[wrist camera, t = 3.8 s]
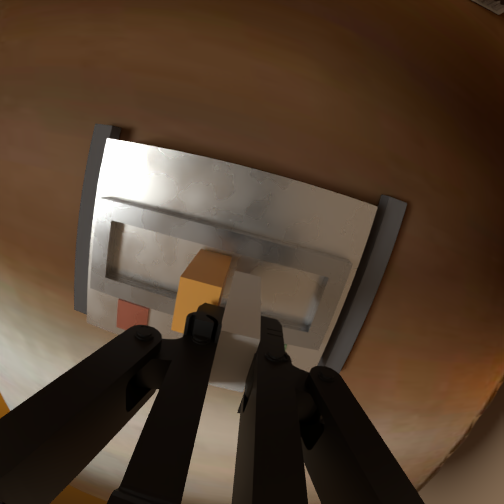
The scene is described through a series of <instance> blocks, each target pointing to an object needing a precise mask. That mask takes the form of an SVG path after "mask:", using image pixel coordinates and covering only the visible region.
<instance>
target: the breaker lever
mask: <svg viewBox="0 0 504 504" xmlns="http://www.w3.org/2000/svg"><path fill="white" fill-rule="evenodd" d="M231 259H232V257H230V256H226V255H223V254H219V253H215V252H211V251H208V250H204V249H200V251H199V252H198V253H197V255H196V256H195V257H194V259H193V260H192V261H191V263H190V264H189V265H188V267H187V268H186V269H185V271H184V272H183V274H182V275H181V276H180V281H179V286H178V292H177V297H176V303H175V309H174V315H173V321H172V327H171V330H173V331H176V332H180V333H183V334H184V328H185V322H186V317H187V315H188V314H189V313H192V312H197V309H198V307H199V306H200V305H202V304H204V303H209V304H213V305H216V306H220V303H221V299H222V295H223V291H224V287H225V283H226V279H227V275H228V271H229V267H230V263H231Z"/></svg>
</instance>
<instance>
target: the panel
mask: <svg viewBox="0 0 504 504" xmlns="http://www.w3.org/2000/svg"><path fill="white" fill-rule="evenodd" d="M377 208H378V207H377V206H374V205H372V204H369V203H366V202H363V201H360V200H357V199H354V198H351V197H348V196H345V195H342V194H339V193H336V192H333V191H330V190H327V189H323V188H320V187H317V186H314V185H310V184H307V183H304V182H300V181H297V180H293V179H290V178H286V177H283V176H279V175H276V174H272V173H268V172H265V171H261V170H257V169H253V168H249V167H245V166H242V165H238V164H233V163H229V162H225V161H221V160H217V159H212V158H208V157H204V156H199V155H195V154H190V153H185V152H181V151H176V150H171V149H166V148H160V147H155V146H150V145H144V144H139V143H133V142H127V141H121V140H114V139H108V138H107V142H106V146H105V151H104V155H103V160H102V165H101V171H100V176H99V182H98V188H97V194H96V200H95V207H94V215H93V223H92V232H91V242H90V253H89V267H88V287H87V323H89V324H92V325H94V326H97V327H99V328H102V329H104V330H107V331H110V332H113V333H115V334H118V335H120V334H121V333H123V332H124V331H125V330H127V329H128V328H130V327H132V326H134V325H148V326H151V327H154V328H155V329H157V330H158V331H159V332H160V333H161V335H162V338H163V339H178V338H181V337H183V333H180V332H176V331H173V330H171V327H172V321H173V315H174V309H175V303H176V297H177V292H178V286H179V281H180V276H181V275H182V274H183V272H184V271H185V269H186V268H187V267H188V265H189V264H190V263H191V261H192V260H193V259H194V257H195V256H196V255H197V253H198V252H199V251H200V249H204V250H208V251H211V252H215V253H219V254H223V255H226V256H230V257H232V259H231V263H230V267H229V271H228V275H227V279H226V283H225V287H224V291H223V295H222V299H221V303H220V307H224V308H225V307H226V303H227V300H228V296H229V292H230V288H231V284H232V280H233V276H234V272H235V271H239V272H243V273H247V274H251V275H255V276H259V277H261V316H265V317H269V318H273V319H277V320H278V321H279V322H280V324H281V325H282V329H283V338H284V347H285V352H286V353H287V354H288V355H289V356H290V358H291V361H292V365H294V366H295V367H297V368H299V369H302V370H304V371H307V372H310V370H311V368H313V367H314V366H317V365H318V363H319V360H320V358H321V356H322V354H323V352H324V349H325V347H326V345H327V343H328V340H329V338H330V336H331V333H332V331H333V329H334V326H335V324H336V322H337V319H338V317H339V314H340V312H341V310H342V307H343V305H344V302H345V300H346V297H347V294H348V292H349V289H350V287H351V284H352V281H353V279H354V276H355V273H356V271H357V268H358V265H359V262H360V259H361V257H362V254H363V251H364V248H365V245H366V242H367V239H368V236H369V233H370V230H371V227H372V224H373V221H374V217H375V214H376V211H377Z"/></svg>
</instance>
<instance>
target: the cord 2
mask: <svg viewBox="0 0 504 504" xmlns="http://www.w3.org/2000/svg"><path fill="white" fill-rule="evenodd" d="M406 206H407V203H405V202H403V201H400V200H398V199H395V198H392V197H390V196H386V195H381V198H380V202H379V205H378V208H377V212H376V215H375V218H374V221H373V224H372V227H371V231H370V234H369V237H368V240H367V243H366V246H365V248H364V251H363V254H362V257H361V260H360V263H359V265H358V268H357V271H356V274H355V276H354V279H353V282H352V284H351V287H350V290H349V292H348V295H347V297H346V300H345V302H344V305H343V307H342V310H341V312H340V315H339V317H338V320H337V322H336V324H335V327H334V329H333V331H332V334H331V336H330V338H329V341H328V343H327V345H326V347H325V350H324V352H323V354H322V356H321V358H320V361H319V363H318V365H317V366H326V367H329V368H332V369H333V370H335V371H336V372H337V373H338V374H339V373H340V371H341V369H342V367H343V365H344V363H345V361H346V359H347V357H348V355H349V353H350V351H351V349H352V346H353V344H354V342H355V340H356V338H357V336H358V334H359V331H360V329H361V327H362V325H363V323H364V320H365V318H366V316H367V313H368V311H369V309H370V306H371V304H372V302H373V299H374V297H375V294H376V292H377V289H378V287H379V284H380V282H381V279H382V277H383V274H384V271H385V269H386V266H387V263H388V261H389V258H390V255H391V252H392V249H393V247H394V244H395V241H396V238H397V235H398V232H399V229H400V226H401V223H402V219H403V216H404V213H405V210H406Z"/></svg>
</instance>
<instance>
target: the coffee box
mask: <svg viewBox="0 0 504 504" xmlns="http://www.w3.org/2000/svg"><path fill="white" fill-rule="evenodd" d="M472 1H474V2H476V3H478V4H479V5H481V6H483V7H485V8H487V9H489V10H491V11H492V12H494V13H496V14H498V15H500V14H501V13H503V12H504V0H472Z"/></svg>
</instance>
